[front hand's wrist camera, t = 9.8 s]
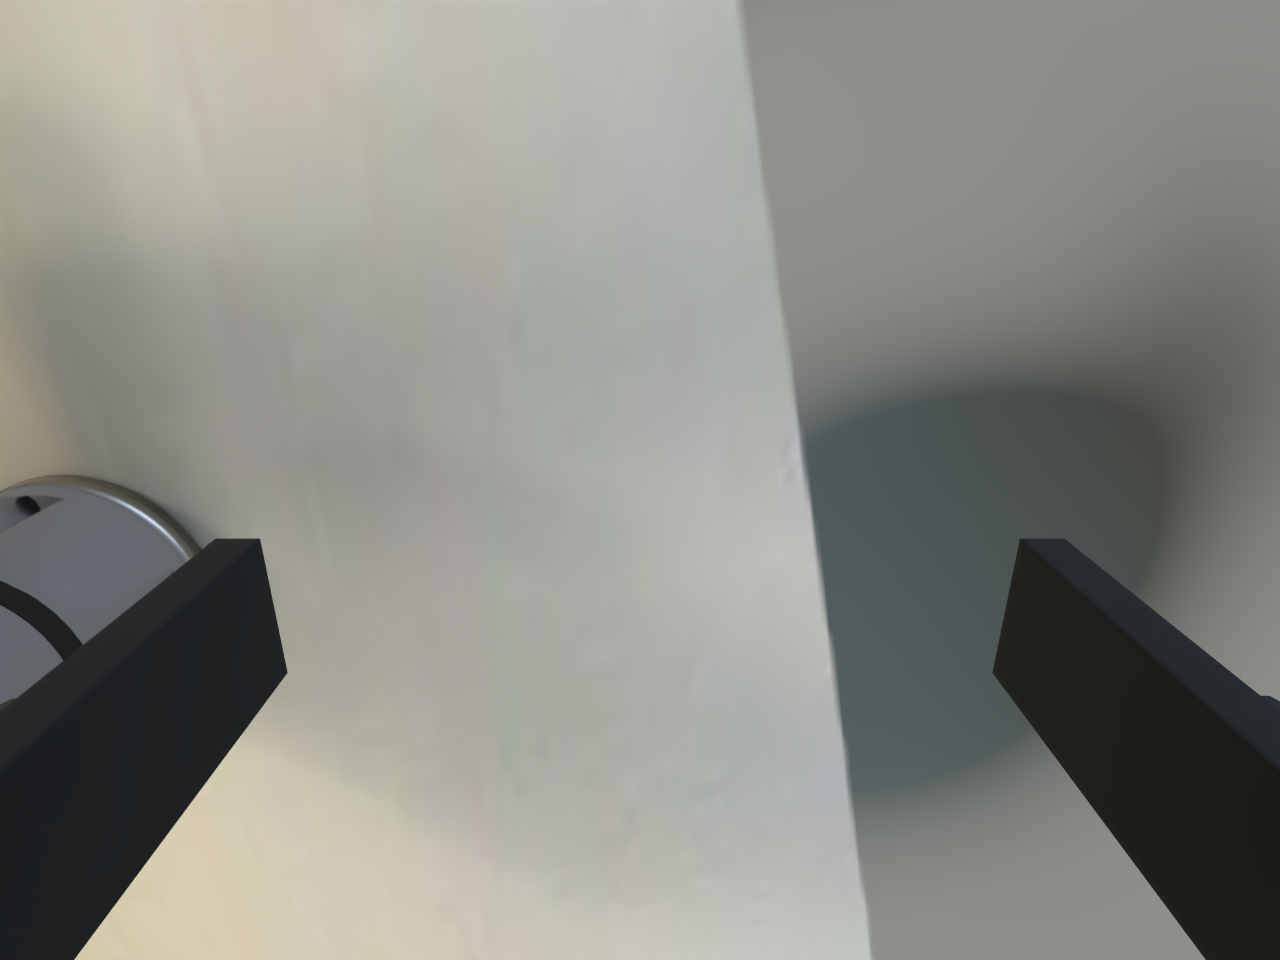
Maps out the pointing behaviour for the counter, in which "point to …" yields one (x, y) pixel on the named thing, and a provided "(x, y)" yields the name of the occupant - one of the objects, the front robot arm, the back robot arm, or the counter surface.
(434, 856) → the counter surface
